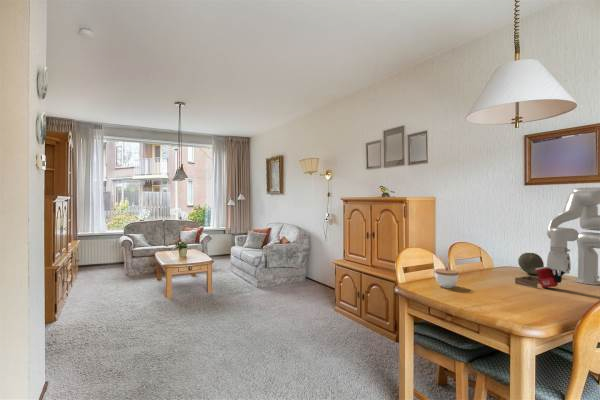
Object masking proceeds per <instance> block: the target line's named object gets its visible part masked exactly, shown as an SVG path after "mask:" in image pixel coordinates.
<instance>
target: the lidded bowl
mask: <svg viewBox="0 0 600 400" xmlns="http://www.w3.org/2000/svg"><path fill="white" fill-rule="evenodd" d="M434 276H435V281H436V283H437V284H438V285H439V287H441V288H444V289H452V288H454V287H455V286H456V285H457V283H458V281H459V271H458V270H455V269H451V268H449V267H447V266H446V267H445V268H435V269H434Z"/></svg>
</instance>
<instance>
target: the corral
mask: <svg viewBox="0 0 600 400" xmlns="http://www.w3.org/2000/svg"><path fill="white" fill-rule="evenodd" d="M514 279H515V283H514V284H516V285H520V286H525V287H528V288H533V289H538V284H539V285H541V283H540V281H539V278H538V276H537V277H536V276H534V275H525V276H518V277H515V278H514Z"/></svg>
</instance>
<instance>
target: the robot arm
mask: <svg viewBox="0 0 600 400" xmlns="http://www.w3.org/2000/svg"><path fill="white" fill-rule="evenodd" d="M598 205H600V187H597V186H596V187H594V186H593V187H587V186H586V187H576V188H573V189H572V191H571V192H570V193H569V194H568V197H567V199H566V202H565V206H564V208H563V210H562V212H560V213H559V214H557V215H556V216H554V217H553V218H552V219H551V221H550V222H549V224H548V227H547V232H546V235H547V237H548V239H550V247H549V249H550V250H549V251H548V254H547V259H546V267H548V268H549V269H550V270H551V272H552V273H553V275H554V280H555V282H557V283H558V284H559V283H560V284H561V283H562V280H563V278H562V277H563V276H564V275H566V274H567V275H568V274H570V273H571V272H570V271H571V269H572V266H571V263H572V262H571V258H570V257H571V256H570V253H571V249H570V248H569V249H568V242H576V243H577V244H576V245H577V252H578V253H577V256H578V257H577V277H576V278H574V281H575V282H577V283H580V284H585V285H591V286H592V285H594V286H595V285H596V286H598V285H600V281H599V279H600V275H599V254H598V252H597V251H596V249H600V215H599V210H598V209H599V207H598ZM577 219H579V226H580V228H581V229H583V230H586V231H584V232H583V231H582V232H579V231H578V230H577V229H575V228H571V227H560V225H561V224H564V223H566V222H570V221H573V220H577ZM589 231H590V232H589ZM591 231H597V232H591ZM568 252H569V253H568Z"/></svg>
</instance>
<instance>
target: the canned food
mask: <svg viewBox="0 0 600 400" xmlns="http://www.w3.org/2000/svg"><path fill="white" fill-rule="evenodd" d="M535 270H536V273H537V274H536V275H537V277H538V278H539V281H540V283H541V284H540V286H541V288H553V287H557V286H559V285H558V284H559V283H557V282H555V280H554V275H553V273H552V272H551V270H550V269H549V268H548V267H547V266H544V267H541V268H536V269H535Z"/></svg>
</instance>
